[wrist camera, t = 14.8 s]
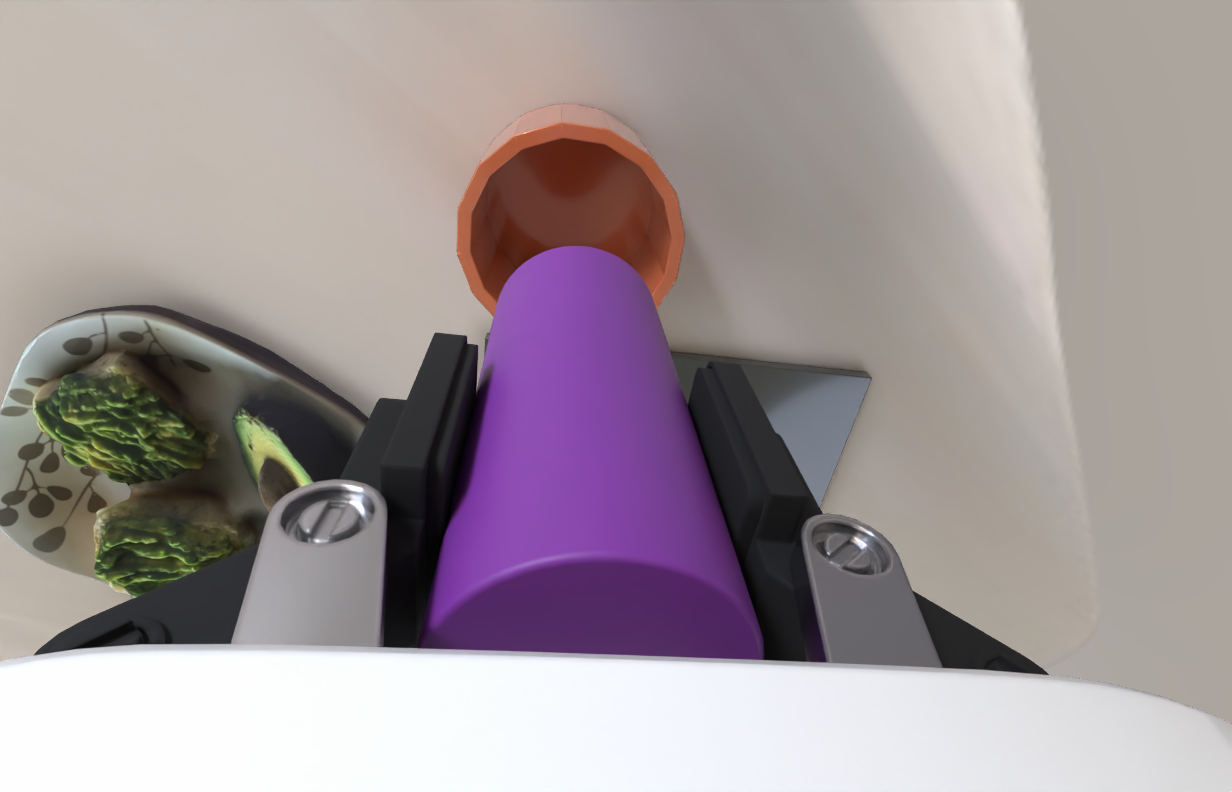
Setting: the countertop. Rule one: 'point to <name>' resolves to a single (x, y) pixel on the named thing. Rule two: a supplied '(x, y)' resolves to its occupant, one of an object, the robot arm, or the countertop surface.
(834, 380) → the slate board
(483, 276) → the pen pot
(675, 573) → the cylinder
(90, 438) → the salad plate
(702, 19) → the countertop surface
